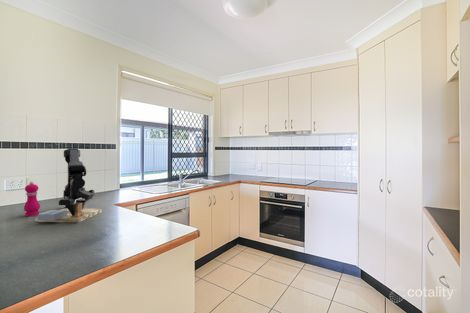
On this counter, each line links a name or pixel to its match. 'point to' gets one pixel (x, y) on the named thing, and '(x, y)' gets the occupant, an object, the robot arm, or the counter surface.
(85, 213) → the pin board
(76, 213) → the pin
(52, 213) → the block
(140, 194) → the counter surface
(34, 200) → the pepper mill
